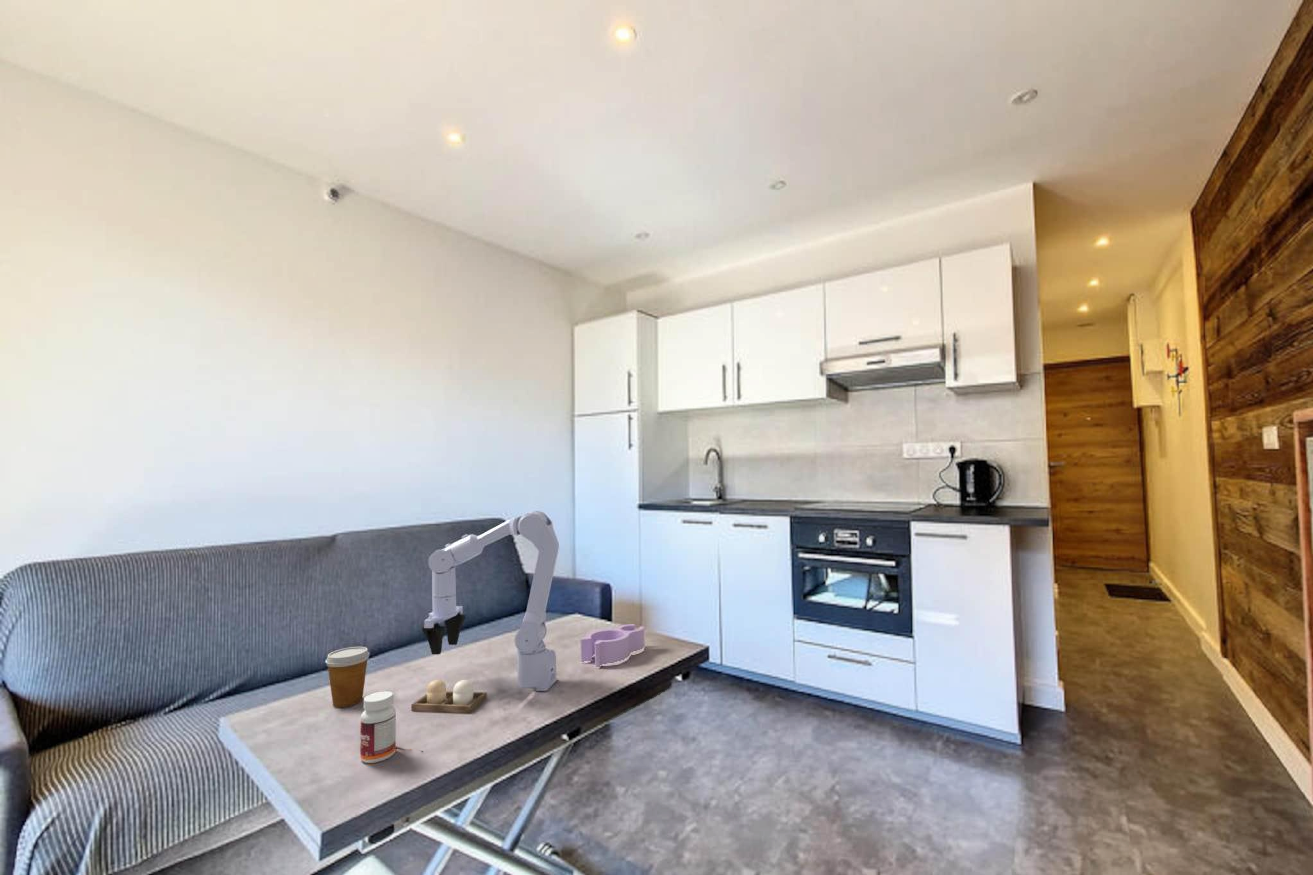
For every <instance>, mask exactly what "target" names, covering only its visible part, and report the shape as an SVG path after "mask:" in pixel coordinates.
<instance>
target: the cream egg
mask: <svg viewBox="0 0 1313 875" xmlns="http://www.w3.org/2000/svg"><path fill="white" fill-rule="evenodd" d="M452 691H453V704H452V705H469V704H471V703H472V702H473V692H474V687H473V684H472V683H471V681H470V680H467V679H462V680H459V681H458V682H456V683H455V685H453V689H452Z"/></svg>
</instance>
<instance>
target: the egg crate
mask: <svg viewBox="0 0 1313 875" xmlns="http://www.w3.org/2000/svg"><path fill="white" fill-rule="evenodd" d="M486 700H488V692H483V691H482V692H481V691H480V692H479V691H473V702H472V703H471V704H469V705H453V690H452V691H451V690H450V691H449V690H446V701H444V702H443V703H442V704H427V693H426V694H425V695H423V696H421V697H420V698H419V699H417V700H415V701H414V702H413V703H412V704H410V705H411V712H424V713H425V712H426V713H447V714H449V713H450V714H469V715H470V714H471V713H472V712H474V711H475V710H476V709H477V708H478V707H479V706H481V704H483V703H484V702H485V701H486Z"/></svg>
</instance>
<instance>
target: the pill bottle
mask: <svg viewBox="0 0 1313 875" xmlns="http://www.w3.org/2000/svg"><path fill="white" fill-rule="evenodd" d="M393 704H394V693H393V692H392V691H387V690H385V691H377V692H374V693H370V694H368V695H367V696H365V697H364V698H363V709H364V710H363V712H362V713H361V715H360V724H359V725H360V727H359V728H360V732H359V733H360V736H359V737H360V738H359V739H360V740H359V741H360V742H359V743H360V745H359V746H360V747H359V750H360V751H359V753H360V756H359V758H360V760H361V762H363V763H366V764H374V763H379V762H382V761H385V760H388V759H389V758H391V757H392V756H393V755H394V754H395V753H396V749H397V748H396V744H397V743H396V742H397V741H396V736H397V735H396V734H397V733H396V732H397V731H396V730H397V728H396V726H397V723H396V722H397V721H396V720H397V718H396V713H397V711H396V708H395V706H393Z"/></svg>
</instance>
